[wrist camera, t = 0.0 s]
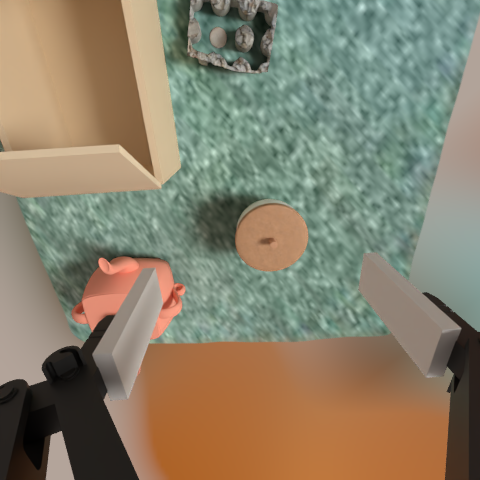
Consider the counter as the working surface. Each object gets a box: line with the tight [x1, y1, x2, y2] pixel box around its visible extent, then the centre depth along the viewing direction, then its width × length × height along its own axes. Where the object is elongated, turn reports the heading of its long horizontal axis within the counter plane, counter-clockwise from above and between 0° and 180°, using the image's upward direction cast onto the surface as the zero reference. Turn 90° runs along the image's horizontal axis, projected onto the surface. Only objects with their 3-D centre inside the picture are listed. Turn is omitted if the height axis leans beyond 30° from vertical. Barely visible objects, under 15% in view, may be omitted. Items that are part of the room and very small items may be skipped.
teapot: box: [72, 256, 185, 375], centre depth 43 cm, size 15×17×13 cm
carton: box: [0, 0, 181, 184], centre depth 31 cm, size 22×16×12 cm
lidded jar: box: [235, 199, 308, 271], centre depth 41 cm, size 11×11×9 cm
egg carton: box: [187, 0, 278, 74], centre depth 33 cm, size 11×8×4 cm
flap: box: [0, 144, 161, 198], centre depth 24 cm, size 10×16×1 cm
